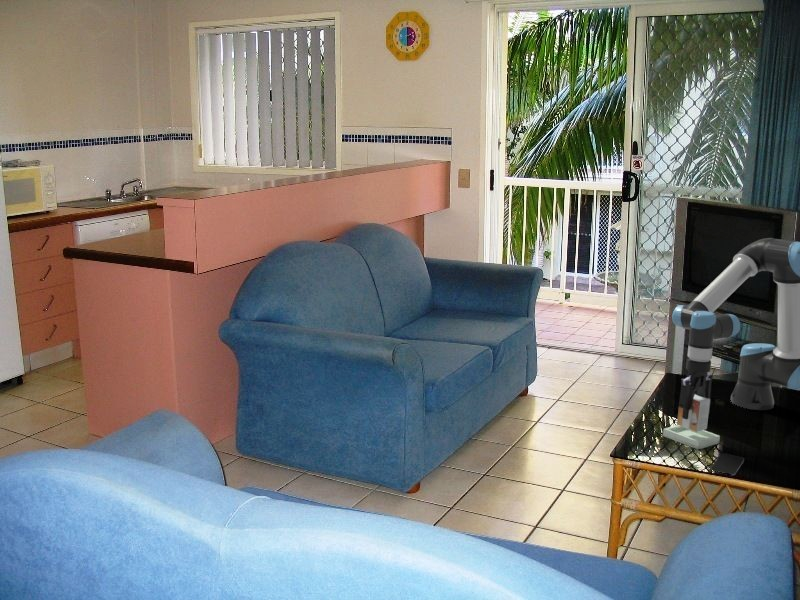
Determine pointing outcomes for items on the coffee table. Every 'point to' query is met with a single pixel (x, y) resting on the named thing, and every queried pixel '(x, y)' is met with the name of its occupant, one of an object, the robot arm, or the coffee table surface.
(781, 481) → the coffee table surface
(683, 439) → the tray
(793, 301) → the robot arm
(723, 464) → the smartphone
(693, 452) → the coffee table surface
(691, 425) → the small box
